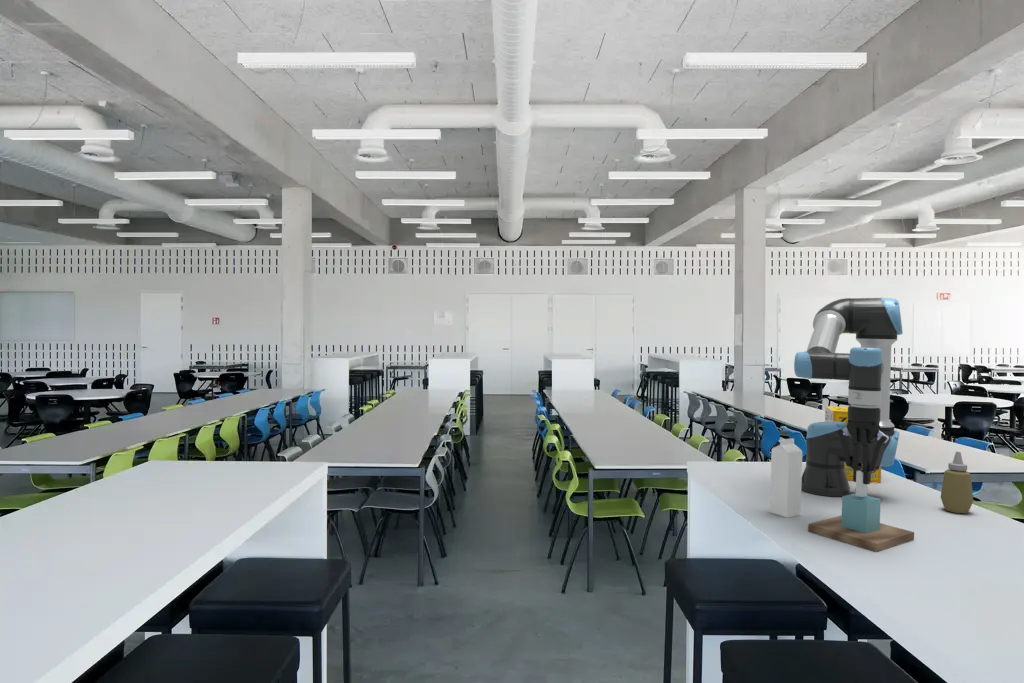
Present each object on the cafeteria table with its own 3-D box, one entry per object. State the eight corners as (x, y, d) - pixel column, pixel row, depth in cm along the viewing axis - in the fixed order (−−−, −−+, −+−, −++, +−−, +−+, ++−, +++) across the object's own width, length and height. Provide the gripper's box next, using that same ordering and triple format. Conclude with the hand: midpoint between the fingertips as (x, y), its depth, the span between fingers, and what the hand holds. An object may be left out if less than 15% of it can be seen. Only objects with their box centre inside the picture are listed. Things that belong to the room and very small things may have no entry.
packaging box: (823, 469, 246) (825, 405, 246) (870, 473, 241) (872, 408, 241) (830, 479, 231) (832, 410, 230) (880, 483, 226) (882, 413, 225)
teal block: (841, 526, 168) (842, 496, 168) (855, 522, 172) (855, 493, 171) (866, 533, 163) (867, 502, 162) (879, 529, 166) (880, 498, 166)
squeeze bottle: (978, 516, 187) (980, 455, 186) (947, 514, 188) (949, 453, 188) (964, 508, 195) (966, 450, 194) (935, 506, 196) (937, 448, 196)
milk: (769, 512, 187) (771, 438, 186) (783, 510, 190) (784, 436, 189) (787, 518, 181) (788, 441, 181) (801, 515, 184) (802, 439, 184)
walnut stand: (808, 531, 170) (808, 501, 170) (845, 521, 179) (846, 493, 179) (876, 551, 155) (877, 519, 154) (913, 539, 164) (914, 509, 164)
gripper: (832, 404, 170) (829, 491, 170) (881, 409, 159) (879, 503, 159) (847, 402, 174) (845, 488, 174) (897, 408, 163) (894, 499, 163)
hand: (861, 495), depth 167 cm, fingers closed
